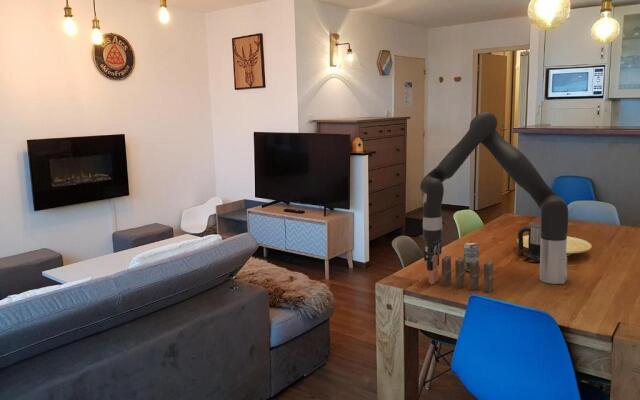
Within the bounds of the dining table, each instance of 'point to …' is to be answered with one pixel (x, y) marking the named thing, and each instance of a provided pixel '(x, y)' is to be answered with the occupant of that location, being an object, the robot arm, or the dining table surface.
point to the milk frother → (531, 240)
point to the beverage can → (470, 254)
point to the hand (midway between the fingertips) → (433, 267)
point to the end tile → (434, 271)
